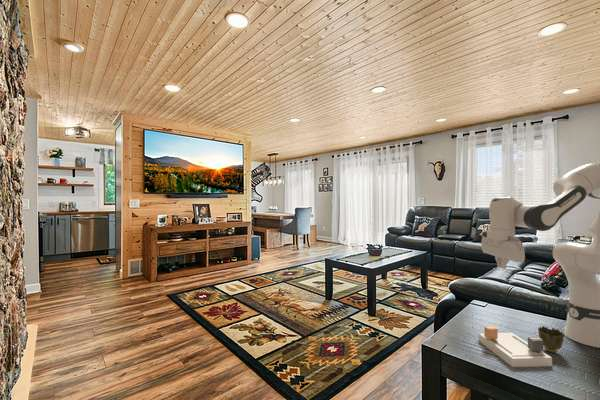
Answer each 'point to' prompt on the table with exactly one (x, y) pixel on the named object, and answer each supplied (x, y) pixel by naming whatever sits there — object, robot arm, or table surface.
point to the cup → (551, 339)
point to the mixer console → (515, 351)
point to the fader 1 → (490, 332)
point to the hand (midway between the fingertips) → (501, 267)
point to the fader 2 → (535, 344)
